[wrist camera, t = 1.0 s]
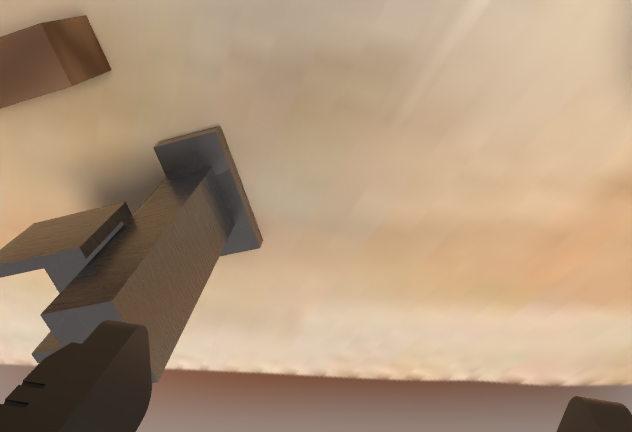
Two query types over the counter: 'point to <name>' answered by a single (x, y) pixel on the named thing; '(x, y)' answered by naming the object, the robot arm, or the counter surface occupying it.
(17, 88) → the rail
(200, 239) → the bracket
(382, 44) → the counter surface
